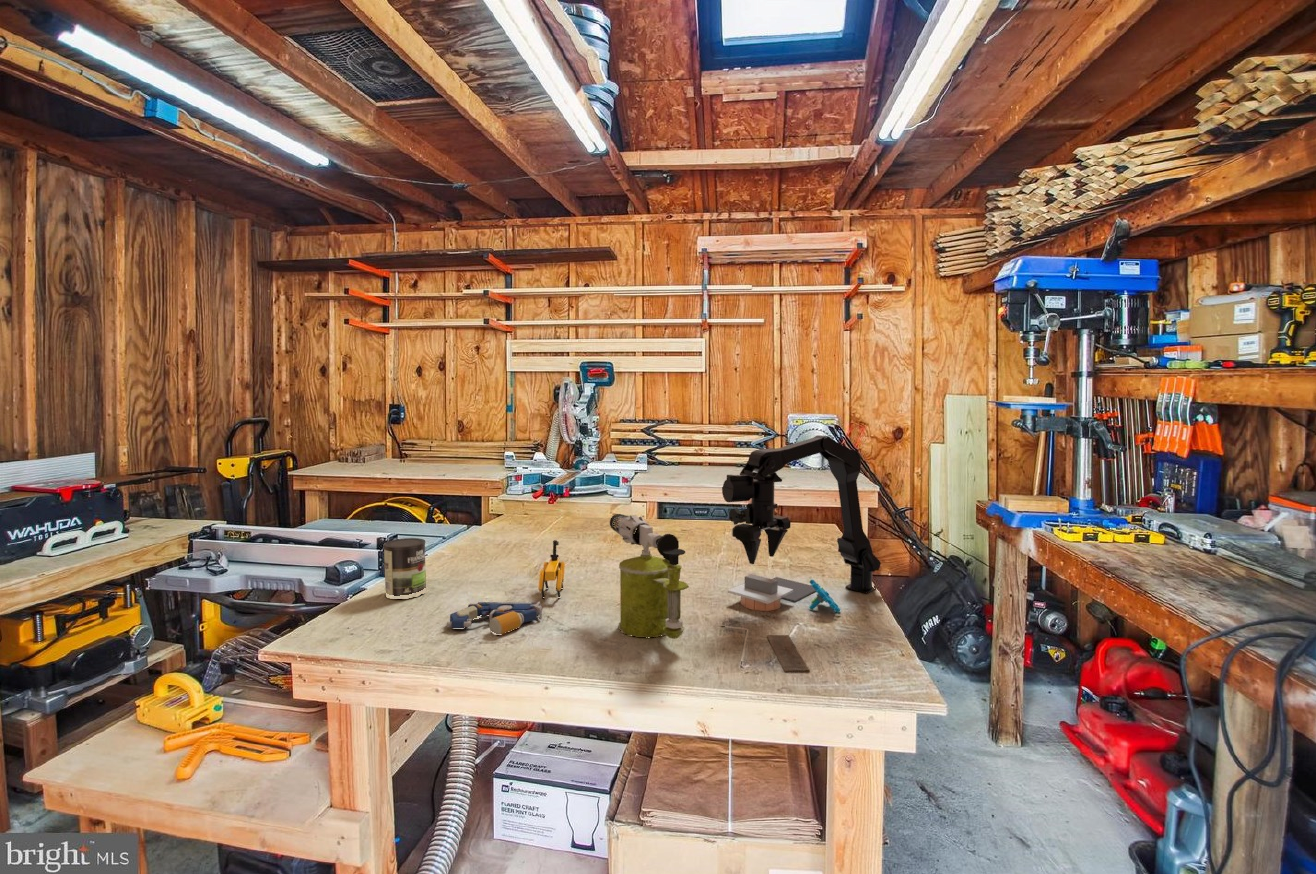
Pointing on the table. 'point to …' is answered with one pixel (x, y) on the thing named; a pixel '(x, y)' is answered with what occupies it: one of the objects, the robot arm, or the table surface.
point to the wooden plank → (787, 653)
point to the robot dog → (552, 572)
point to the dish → (760, 604)
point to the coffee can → (404, 566)
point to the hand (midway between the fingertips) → (761, 560)
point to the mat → (795, 589)
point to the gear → (822, 597)
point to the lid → (760, 589)
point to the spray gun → (496, 615)
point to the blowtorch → (649, 581)
